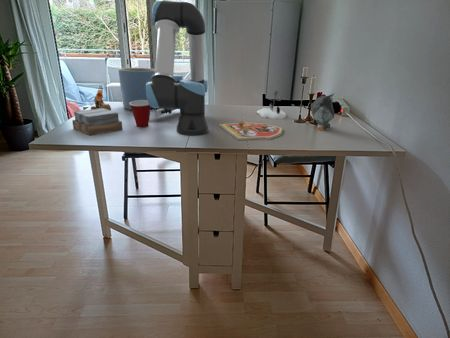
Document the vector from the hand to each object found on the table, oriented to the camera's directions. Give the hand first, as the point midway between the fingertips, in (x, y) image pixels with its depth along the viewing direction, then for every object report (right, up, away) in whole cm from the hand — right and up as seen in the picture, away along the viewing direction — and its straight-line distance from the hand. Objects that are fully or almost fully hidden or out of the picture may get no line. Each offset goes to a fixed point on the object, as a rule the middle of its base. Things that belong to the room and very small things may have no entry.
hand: (145, 111), depth 153 cm
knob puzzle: (+56, -11, -2) cm, 57 cm away
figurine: (+69, +4, +35) cm, 78 cm away
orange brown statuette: (-27, 0, +15) cm, 31 cm away
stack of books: (-20, -10, -10) cm, 24 cm away
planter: (-14, +10, +42) cm, 45 cm away
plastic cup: (-1, -8, -1) cm, 8 cm away
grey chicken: (+91, -8, +8) cm, 92 cm away
